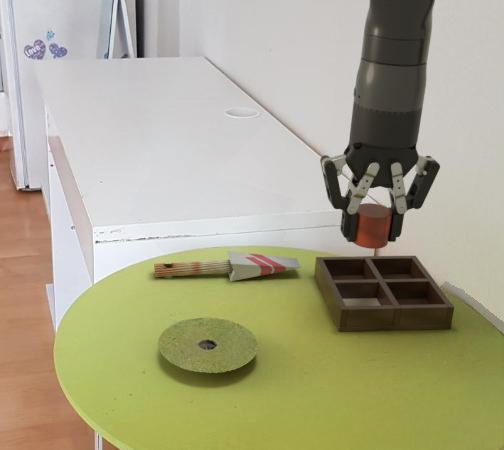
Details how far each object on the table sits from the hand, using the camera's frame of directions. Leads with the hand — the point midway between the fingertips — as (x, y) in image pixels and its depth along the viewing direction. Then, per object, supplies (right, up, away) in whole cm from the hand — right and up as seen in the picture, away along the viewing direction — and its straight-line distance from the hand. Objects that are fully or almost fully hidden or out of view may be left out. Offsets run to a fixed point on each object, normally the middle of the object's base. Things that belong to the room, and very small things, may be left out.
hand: (369, 238), depth 90 cm
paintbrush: (-17, -5, +13) cm, 22 cm away
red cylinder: (0, 0, 0) cm, 0 cm away
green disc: (-20, -14, -5) cm, 24 cm away
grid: (+3, -8, +8) cm, 12 cm away
